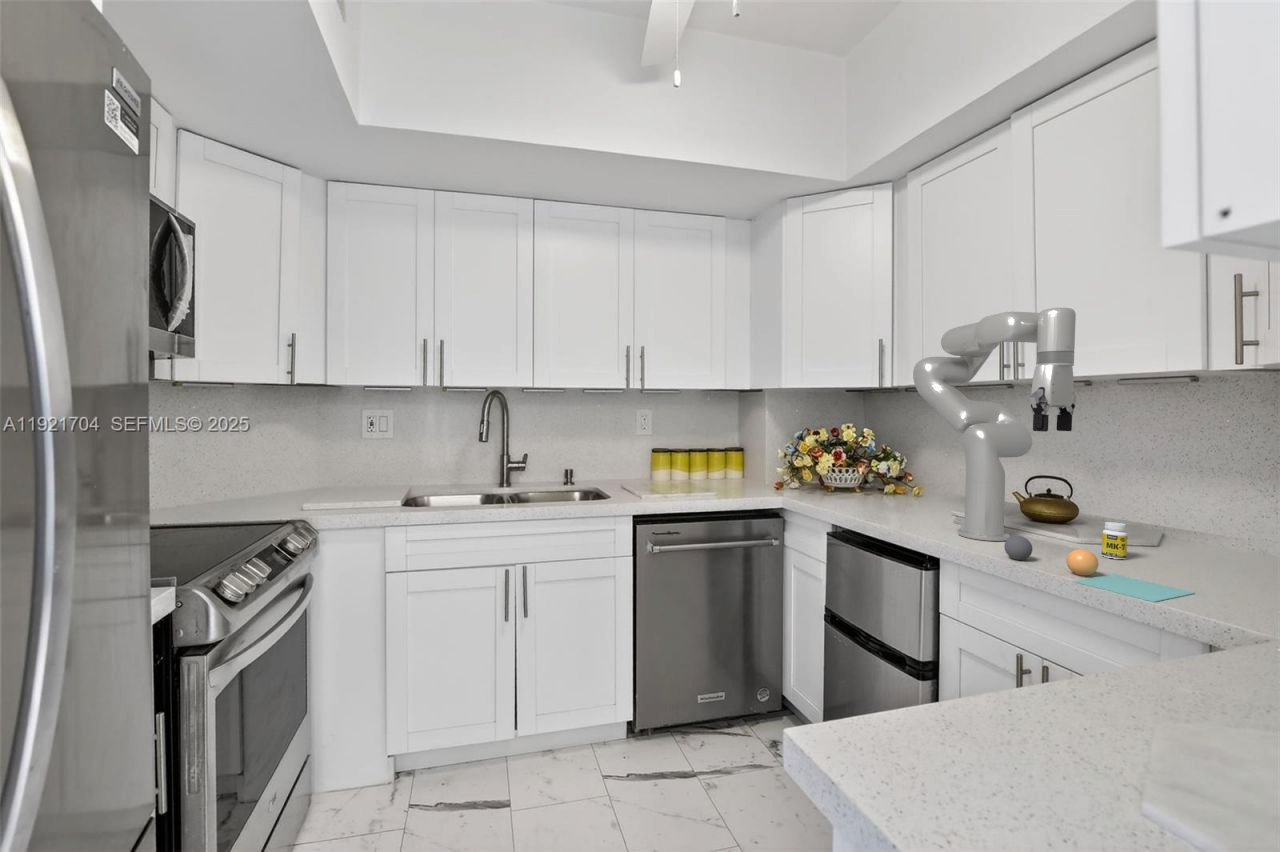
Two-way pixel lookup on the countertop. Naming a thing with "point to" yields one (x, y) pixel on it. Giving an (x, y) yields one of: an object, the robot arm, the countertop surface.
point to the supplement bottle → (1114, 540)
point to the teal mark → (1135, 587)
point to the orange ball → (1082, 562)
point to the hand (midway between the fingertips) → (1052, 431)
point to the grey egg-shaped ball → (1018, 547)
